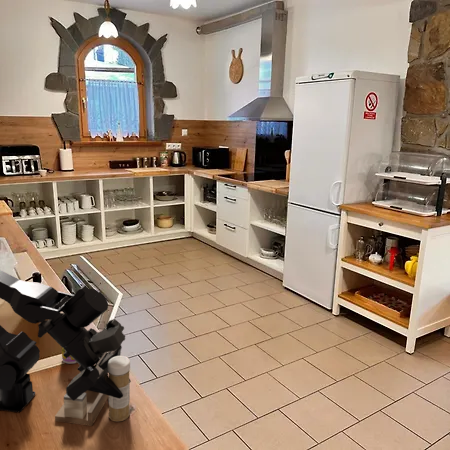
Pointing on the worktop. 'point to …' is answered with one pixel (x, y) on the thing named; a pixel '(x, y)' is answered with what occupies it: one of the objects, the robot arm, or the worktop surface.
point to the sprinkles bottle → (120, 377)
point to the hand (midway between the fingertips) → (125, 389)
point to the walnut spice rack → (81, 408)
